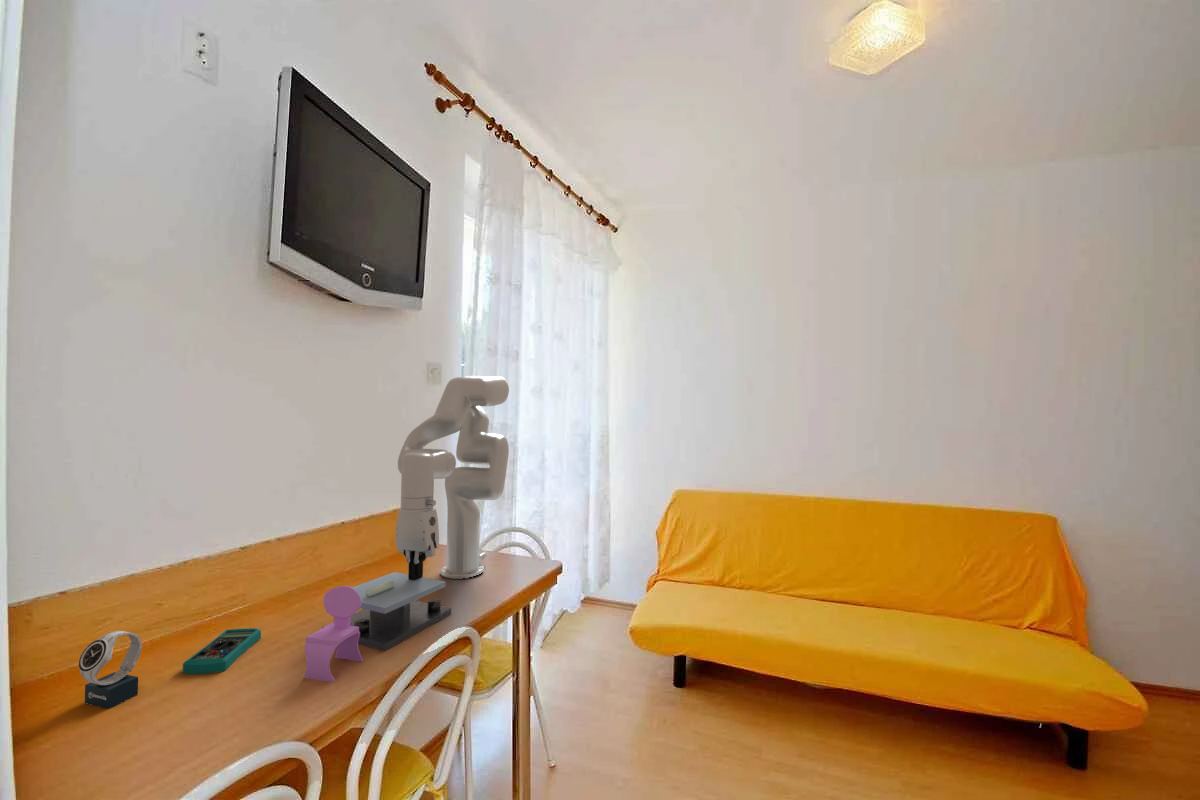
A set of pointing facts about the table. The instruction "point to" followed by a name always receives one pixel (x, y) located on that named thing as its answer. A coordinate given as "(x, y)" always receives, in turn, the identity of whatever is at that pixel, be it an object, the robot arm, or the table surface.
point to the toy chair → (334, 634)
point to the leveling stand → (397, 623)
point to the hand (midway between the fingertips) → (415, 578)
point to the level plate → (394, 591)
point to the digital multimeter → (221, 651)
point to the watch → (115, 684)
